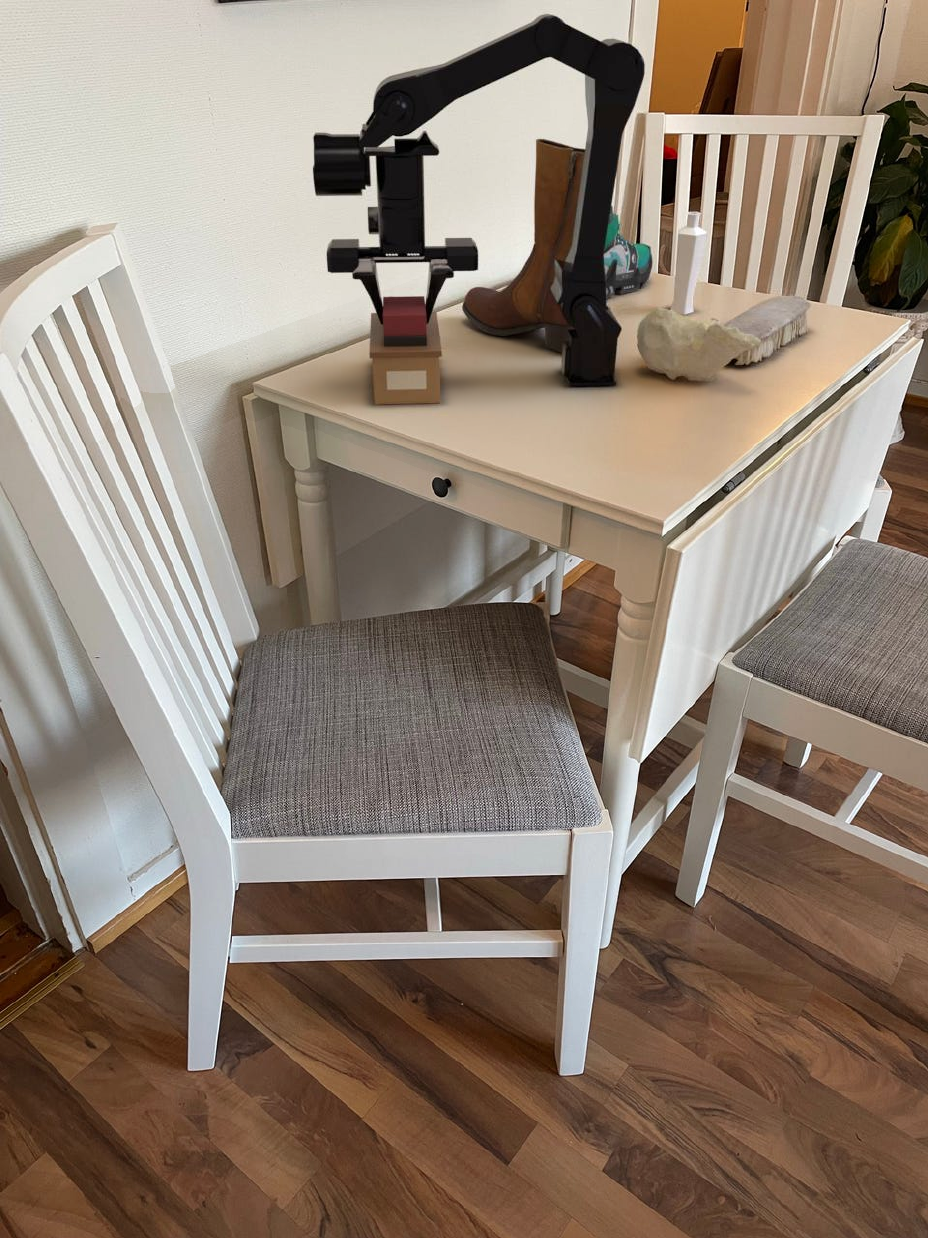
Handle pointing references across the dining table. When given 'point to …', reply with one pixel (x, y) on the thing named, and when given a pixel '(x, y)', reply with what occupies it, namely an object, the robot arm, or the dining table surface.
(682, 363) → the beige lumpy irregular piece
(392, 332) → the dark red two-tone block
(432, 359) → the shoebox
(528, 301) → the boot
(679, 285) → the perfume bottle
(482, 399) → the dining table surface
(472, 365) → the dining table surface
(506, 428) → the dining table surface
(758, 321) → the shoe brush
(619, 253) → the sneaker
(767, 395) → the dining table surface
